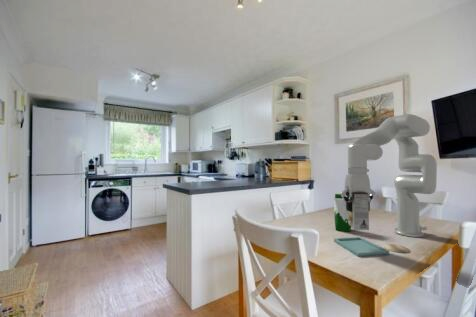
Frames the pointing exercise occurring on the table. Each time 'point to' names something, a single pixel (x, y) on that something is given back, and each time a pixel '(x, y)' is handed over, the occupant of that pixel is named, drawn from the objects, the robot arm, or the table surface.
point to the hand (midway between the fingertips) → (358, 210)
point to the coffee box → (359, 211)
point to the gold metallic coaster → (396, 248)
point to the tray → (361, 246)
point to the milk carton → (341, 214)
